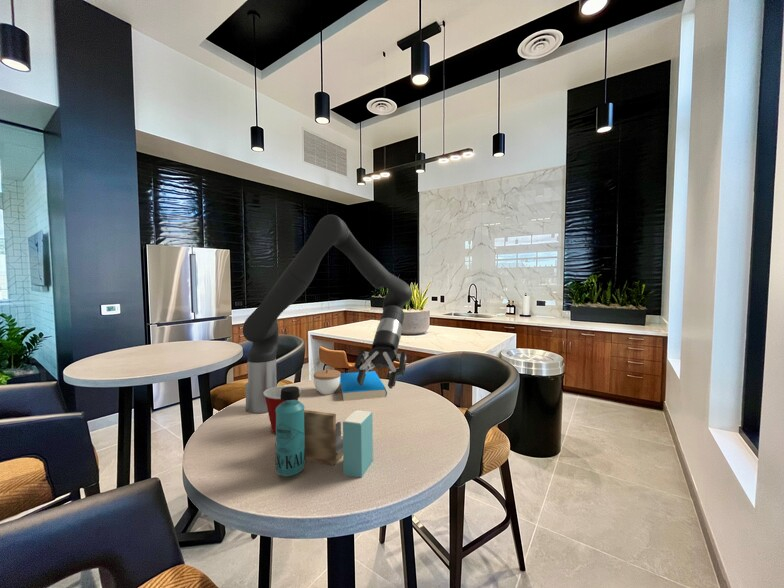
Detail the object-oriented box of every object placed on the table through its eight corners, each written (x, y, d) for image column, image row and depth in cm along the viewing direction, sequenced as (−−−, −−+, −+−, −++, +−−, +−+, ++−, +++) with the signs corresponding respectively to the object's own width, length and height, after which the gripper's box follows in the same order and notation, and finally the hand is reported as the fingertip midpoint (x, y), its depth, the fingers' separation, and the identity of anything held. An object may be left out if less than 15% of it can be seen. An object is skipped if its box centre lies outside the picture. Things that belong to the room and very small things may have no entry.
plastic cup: (304, 434, 92) (303, 393, 91) (263, 441, 88) (262, 398, 87) (300, 420, 102) (299, 382, 101) (264, 425, 98) (263, 387, 98)
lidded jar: (346, 389, 131) (345, 367, 131) (330, 398, 121) (330, 373, 121) (324, 386, 135) (324, 364, 135) (308, 394, 126) (307, 371, 125)
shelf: (277, 455, 81) (276, 408, 80) (304, 433, 92) (303, 393, 92) (334, 465, 76) (333, 415, 76) (354, 441, 87) (354, 398, 87)
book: (342, 391, 118) (338, 372, 143) (342, 403, 118) (338, 382, 143) (387, 387, 122) (375, 370, 146) (387, 398, 122) (376, 379, 147)
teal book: (343, 474, 72) (342, 421, 72) (356, 458, 79) (355, 409, 79) (361, 477, 71) (361, 423, 71) (372, 461, 78) (372, 411, 77)
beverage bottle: (279, 467, 75) (278, 383, 75) (308, 465, 76) (307, 382, 75) (271, 484, 69) (270, 393, 68) (303, 482, 69) (301, 392, 69)
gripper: (362, 328, 95) (346, 376, 85) (408, 329, 91) (397, 381, 80) (368, 342, 101) (354, 390, 90) (412, 344, 96) (403, 394, 86)
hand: (374, 385), depth 85 cm, fingers open, 8 cm apart
